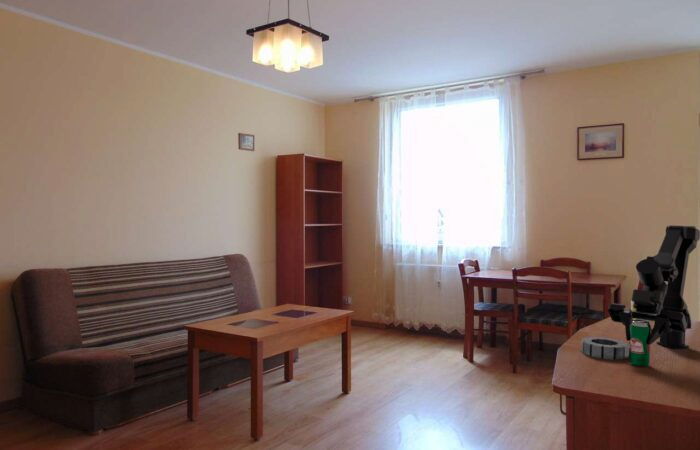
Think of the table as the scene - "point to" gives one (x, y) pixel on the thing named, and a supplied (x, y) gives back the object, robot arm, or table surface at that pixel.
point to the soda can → (639, 343)
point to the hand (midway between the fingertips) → (638, 341)
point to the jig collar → (604, 348)
